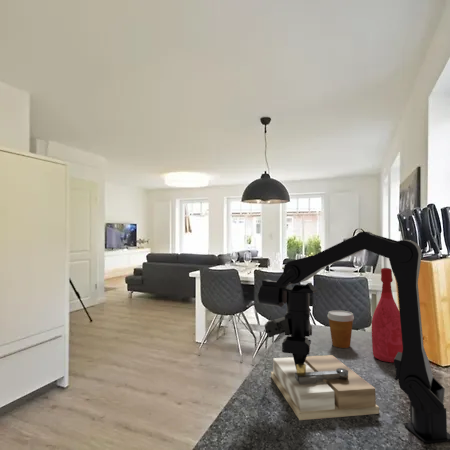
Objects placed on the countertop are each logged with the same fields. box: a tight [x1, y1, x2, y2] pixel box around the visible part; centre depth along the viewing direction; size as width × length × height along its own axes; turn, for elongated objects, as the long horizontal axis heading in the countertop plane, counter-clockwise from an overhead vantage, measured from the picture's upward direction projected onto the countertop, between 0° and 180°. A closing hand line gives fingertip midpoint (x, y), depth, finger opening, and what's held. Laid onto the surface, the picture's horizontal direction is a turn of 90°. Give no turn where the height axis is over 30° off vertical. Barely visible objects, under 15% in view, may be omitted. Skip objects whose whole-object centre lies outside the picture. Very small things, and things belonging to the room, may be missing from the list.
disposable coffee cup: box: [326, 310, 355, 349], centre depth 124 cm, size 10×10×12 cm
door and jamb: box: [270, 354, 380, 421], centre depth 86 cm, size 23×19×7 cm
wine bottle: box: [371, 267, 403, 364], centre depth 111 cm, size 10×10×30 cm
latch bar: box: [295, 363, 348, 381], centre depth 81 cm, size 13×3×4 cm, turn 97°
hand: (298, 370), depth 85 cm, fingers closed
